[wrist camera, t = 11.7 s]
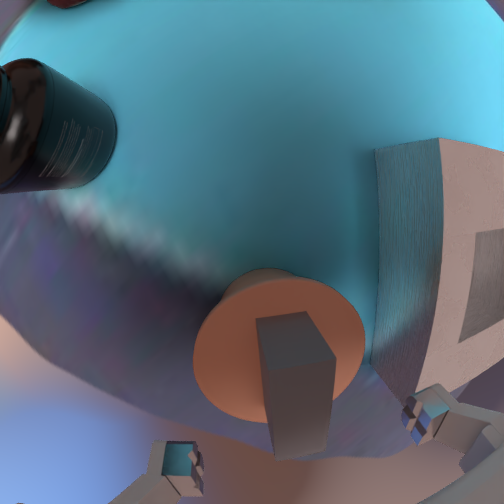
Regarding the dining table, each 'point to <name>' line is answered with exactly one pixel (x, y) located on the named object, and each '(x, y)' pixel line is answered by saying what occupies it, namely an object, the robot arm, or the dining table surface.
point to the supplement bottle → (49, 129)
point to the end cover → (280, 356)
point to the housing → (438, 264)
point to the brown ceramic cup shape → (65, 3)
